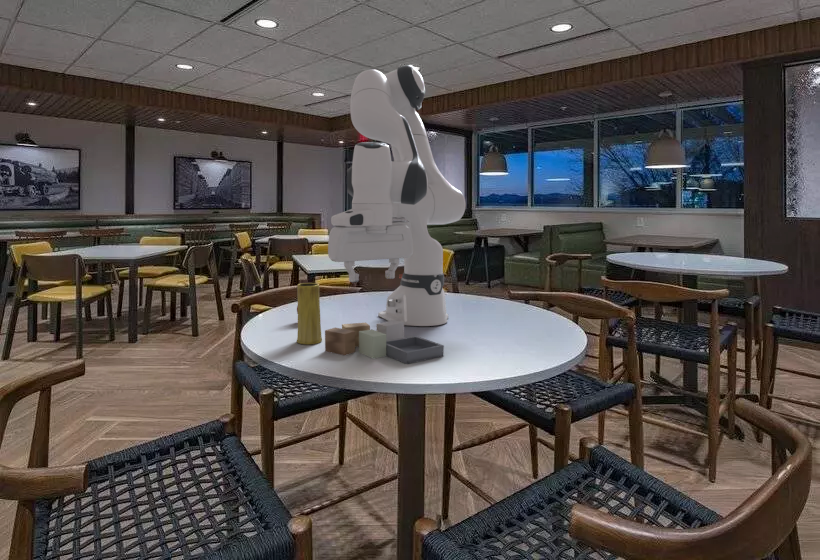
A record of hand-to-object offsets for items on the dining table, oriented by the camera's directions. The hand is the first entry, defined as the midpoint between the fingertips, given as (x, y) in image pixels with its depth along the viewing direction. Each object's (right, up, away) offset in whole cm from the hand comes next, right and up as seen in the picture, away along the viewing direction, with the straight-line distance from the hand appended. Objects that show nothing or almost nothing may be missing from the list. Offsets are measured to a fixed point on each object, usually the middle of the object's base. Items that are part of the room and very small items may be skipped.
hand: (372, 280), depth 115 cm
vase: (-16, -15, +13) cm, 26 cm away
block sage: (0, -17, +2) cm, 17 cm away
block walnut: (-8, -17, +4) cm, 19 cm away
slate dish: (+9, -17, +2) cm, 19 cm away
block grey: (+4, -16, +13) cm, 20 cm away
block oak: (-5, -16, +10) cm, 19 cm away
